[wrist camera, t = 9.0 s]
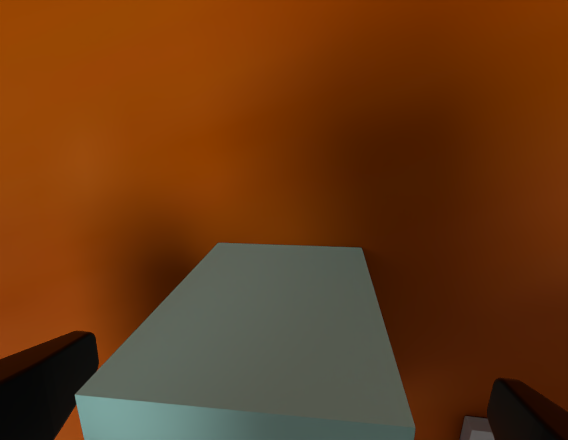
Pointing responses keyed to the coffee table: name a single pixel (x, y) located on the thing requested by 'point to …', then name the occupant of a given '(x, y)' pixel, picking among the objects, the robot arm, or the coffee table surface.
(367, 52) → the coffee table surface
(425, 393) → the coffee table surface
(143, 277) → the coffee table surface
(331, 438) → the block
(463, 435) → the coaster
